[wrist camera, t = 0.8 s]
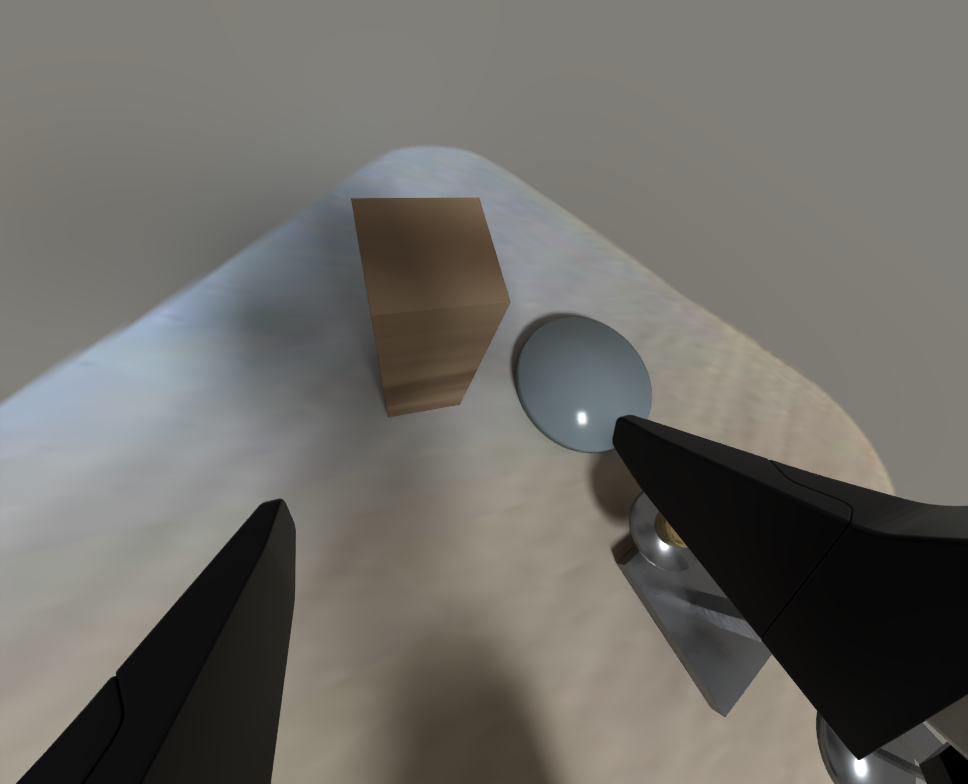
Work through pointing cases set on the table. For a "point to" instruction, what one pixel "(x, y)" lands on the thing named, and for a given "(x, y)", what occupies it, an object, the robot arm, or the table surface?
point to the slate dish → (581, 382)
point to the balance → (736, 646)
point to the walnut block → (429, 295)
